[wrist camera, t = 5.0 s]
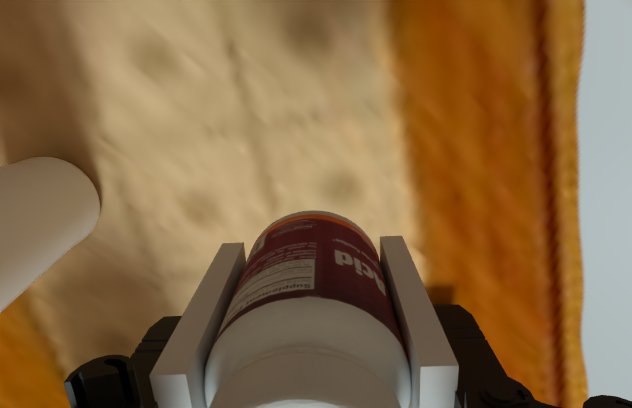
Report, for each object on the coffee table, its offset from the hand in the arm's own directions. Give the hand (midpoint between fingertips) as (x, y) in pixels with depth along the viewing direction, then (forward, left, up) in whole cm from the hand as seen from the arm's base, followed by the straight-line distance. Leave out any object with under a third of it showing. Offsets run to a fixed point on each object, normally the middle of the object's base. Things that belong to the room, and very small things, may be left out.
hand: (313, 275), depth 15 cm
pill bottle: (0, 0, -1) cm, 1 cm away
